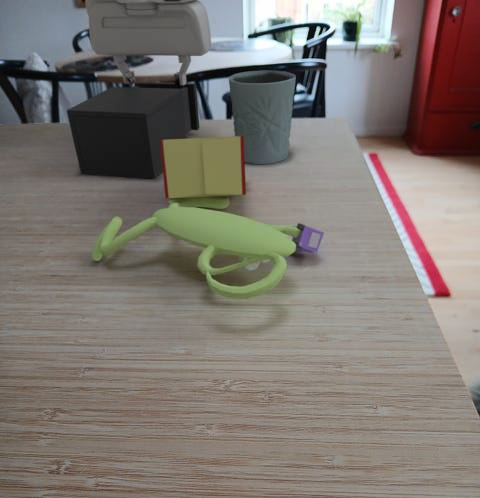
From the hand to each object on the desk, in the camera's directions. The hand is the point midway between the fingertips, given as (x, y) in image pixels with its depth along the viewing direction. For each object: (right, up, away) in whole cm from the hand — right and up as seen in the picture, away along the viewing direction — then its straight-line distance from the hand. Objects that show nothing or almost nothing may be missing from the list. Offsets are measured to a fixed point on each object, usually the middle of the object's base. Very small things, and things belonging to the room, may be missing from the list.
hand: (155, 83), depth 88 cm
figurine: (+11, -34, -30) cm, 47 cm away
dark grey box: (-3, -14, -3) cm, 14 cm away
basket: (0, -7, +5) cm, 8 cm away
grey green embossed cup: (+18, -13, -3) cm, 23 cm away
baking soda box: (+10, -17, -14) cm, 24 cm away
